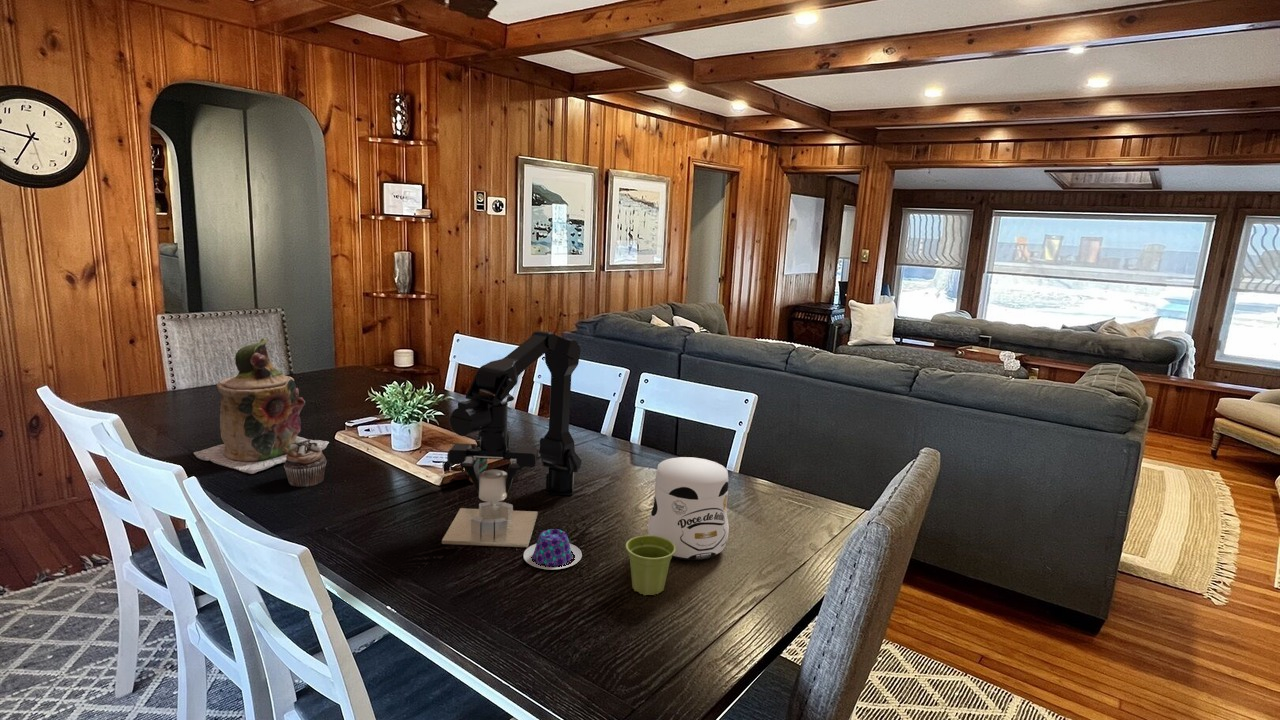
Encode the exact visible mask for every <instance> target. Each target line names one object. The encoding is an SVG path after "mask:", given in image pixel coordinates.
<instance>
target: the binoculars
mask: <svg viewBox="0 0 1280 720" xmlns="http://www.w3.org/2000/svg"><path fill="white" fill-rule="evenodd" d="M470 444H471V446H472V449H480V440H479V439H478V437H476V438H475V443H470ZM453 465H454V464H449V468H450V470H451V471H453V472H460V473H456V475H455V474H454V481H459V480H460V481H462V480H469V481H470V482H471V483H473V482H472V479H471V477H470V476H469V474H468V473H465V472H467V471H466V470H465V472H463V471H464V470H463V468H461V467H454V466H453ZM487 467H488V459H481V458H479V474H480V473H482V472H484V471H487Z"/></svg>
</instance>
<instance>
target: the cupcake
mask: <svg viewBox="0 0 1280 720" xmlns="http://www.w3.org/2000/svg"><path fill="white" fill-rule="evenodd" d="M311 440H312V439H308V440H307V441H302V442H300V443H294V444H292V445H290V449H291V450H290V451H289V453H288V454H287V456H286V459H287V460H286V461H285V462H284V464H283V468H284V470H285V474H286V478H287V481H288V484H289V485H290V486H293V487H296V488H297V487H298V488H304V487H312V486H316V485H318V484H320V483H322V482H324V479H325V471H326V466H327V465H326V464H327V461H328V460H327V459H326V456H325V455H324V454H323V450H320V449H321V446H319V445H317V443H315V442H314V443H313V442H311Z"/></svg>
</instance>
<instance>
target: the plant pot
mask: <svg viewBox="0 0 1280 720" xmlns="http://www.w3.org/2000/svg"><path fill="white" fill-rule="evenodd" d="M625 549H626V551H627V554H628V558H629V563H630V564H629V565H630V573H631V574H630V575H631V576H630V577H631V587H632V589H634V590H633V591H634V592H638V593H639V594H640V595H641V594H643V595H642V596H646V595H654V594H657V595H659V594H660V593H662V591H664V590H665V586H666V581H667V576H668V571H669V567H670V563H671V560H672V558H673V557H672V555H673V554H674V553H675V549H676V548H675V545H674V544H673V543H672V542H671V541H669V540H667V539H665V538H662V537H658V536H650V535H649V534H648V535H638V536H634V537H632V538H630V539H629V540H627V542H626V543H625ZM654 596H655V595H654Z"/></svg>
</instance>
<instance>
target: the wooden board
mask: <svg viewBox="0 0 1280 720" xmlns="http://www.w3.org/2000/svg"><path fill="white" fill-rule="evenodd" d="M538 515H539V514H538V511H531V510H528V511H527V510H514V505H513V504H511V503H509V502H504V501H498V502H486V501H484V502H480V503H479V504H478V508H463V507H462V508H461V507H460V508H459V510H458V512H457V513H456V515H455V517H454V519H453V521H452V522H451V523H450V526H449V527H448V529H447V531H446V533H445V534H444V536H443V537H442V539H441V544H442V545H460V546H461V545H462V546H463V545H464V546H486V547H487V546H488V547H513V548H529V545H530V541H531V538H532V535H533V531H534V528H535V525H536V521H537V518H538Z"/></svg>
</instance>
